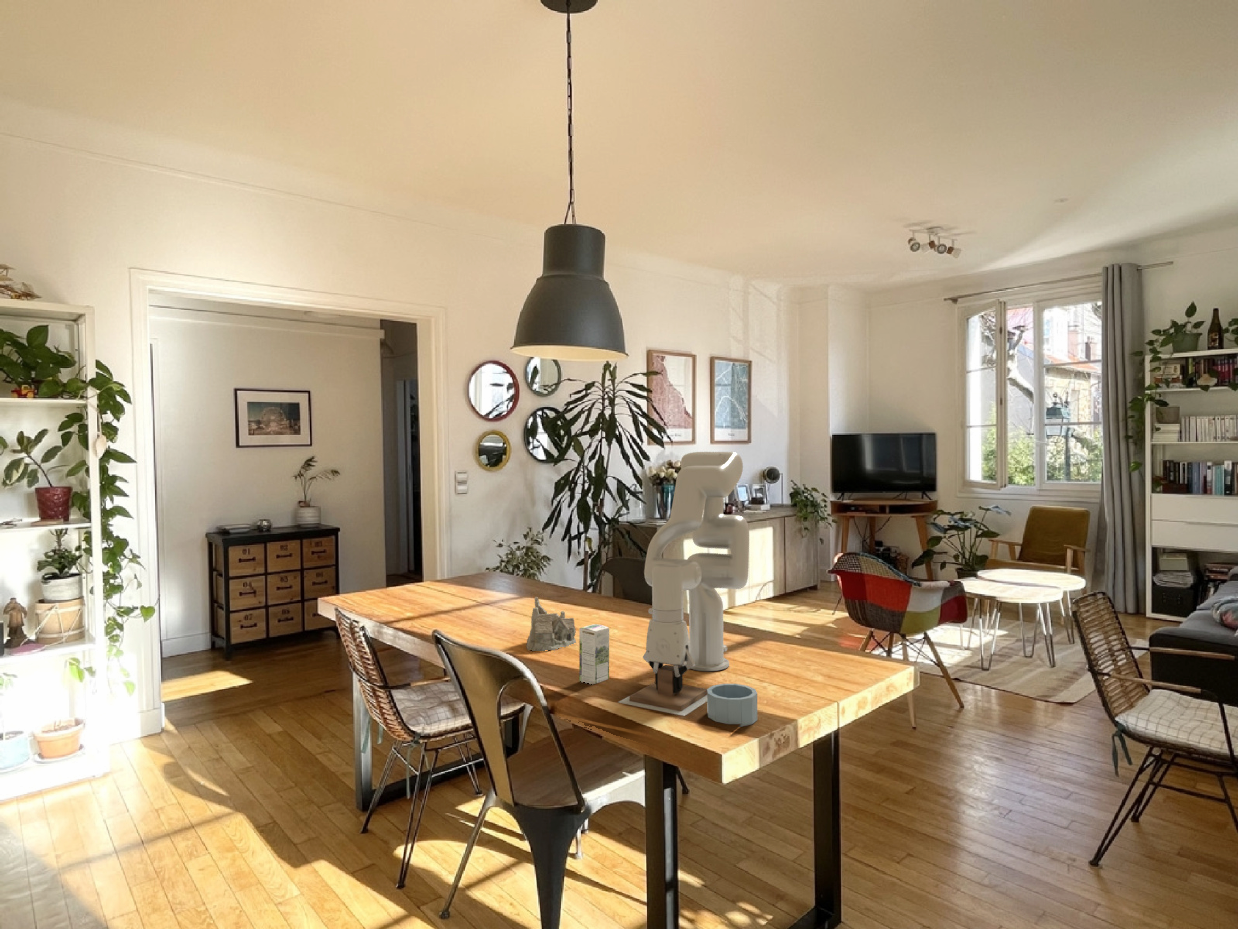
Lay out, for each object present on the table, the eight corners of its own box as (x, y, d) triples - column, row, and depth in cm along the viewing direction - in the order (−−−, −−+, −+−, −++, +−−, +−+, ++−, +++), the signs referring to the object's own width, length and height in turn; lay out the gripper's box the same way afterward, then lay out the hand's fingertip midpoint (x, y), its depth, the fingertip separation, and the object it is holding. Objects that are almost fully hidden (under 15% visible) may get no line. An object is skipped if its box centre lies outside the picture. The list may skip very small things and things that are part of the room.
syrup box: (593, 676, 202) (592, 623, 202) (610, 680, 199) (609, 626, 198) (579, 682, 198) (578, 627, 198) (595, 686, 194) (595, 630, 194)
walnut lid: (658, 685, 193) (657, 657, 192) (707, 694, 185) (707, 665, 185) (629, 701, 181) (629, 671, 181) (681, 711, 173) (680, 680, 173)
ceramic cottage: (522, 651, 228) (525, 602, 228) (529, 640, 244) (532, 593, 245) (573, 654, 228) (576, 604, 228) (577, 642, 244) (579, 596, 244)
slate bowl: (720, 706, 178) (720, 681, 178) (764, 714, 172) (764, 688, 172) (699, 720, 169) (699, 694, 169) (745, 730, 163) (744, 702, 163)
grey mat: (655, 684, 195) (655, 682, 195) (718, 696, 186) (718, 693, 186) (617, 704, 180) (617, 702, 180) (684, 718, 170) (684, 715, 170)
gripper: (630, 614, 184) (631, 688, 184) (691, 622, 175) (692, 700, 175) (646, 608, 190) (647, 680, 191) (706, 616, 181) (706, 691, 182)
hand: (668, 689), depth 183 cm, fingers closed on walnut lid, 4 cm apart
